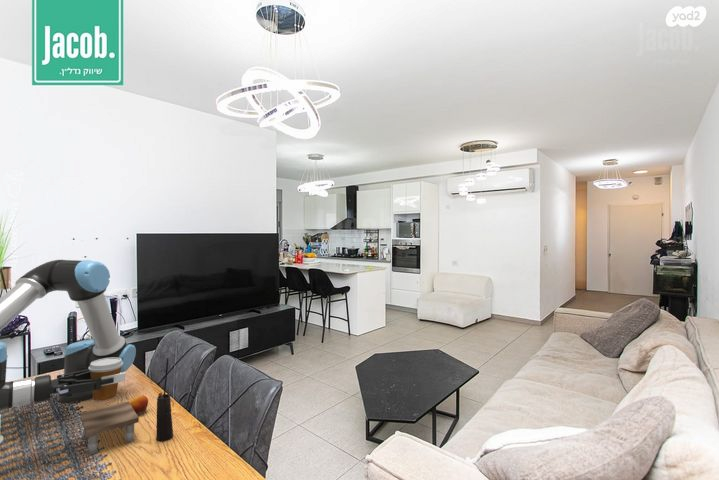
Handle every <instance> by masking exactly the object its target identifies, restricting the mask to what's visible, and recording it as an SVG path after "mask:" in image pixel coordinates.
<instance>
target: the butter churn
mask: <svg viewBox="0 0 719 480" xmlns="http://www.w3.org/2000/svg"><path fill="white" fill-rule="evenodd" d="M168 367H169V358H167V359H166V365H165V376H164V377H165V378H164V379H165V380H164V385H163V386H164V387H163V390H164V391H163V393H162V392H159V393H158V396H157V397H156V398H157V399H156V400H157V401H156V424H155V425H156V428H155V429H156V430H155V432H156V434H155V435H156V436H155V440H156V441H157V442H159V443H164V442H167V441H169V440H171V439H172V438H173V437H174V429H173V428H174V427H173V420H172V419H173V418H172V417H173V416H172V404H171V402H172V401H171V394H170V393H166V391H167V380H168Z"/></svg>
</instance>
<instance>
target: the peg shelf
mask: <svg viewBox="0 0 719 480" xmlns="http://www.w3.org/2000/svg"><path fill="white" fill-rule="evenodd" d="M79 416H80V421H81V425H82V427H83V430H82V438H83V439H84V440H85V439H88V441H87V455H89V456H91V455H94V454H96V453H98V446H99V444H98V441H99V434H102V433H105V432H109V431H113V430H116V429H124V428H125V438H124V440H125V441H124V442H125V443H126V444H129V443H132V442H133V441H135V440H134V438H135V424H137V423H138V424H139V418H140V417H139V415H138V416H137V414H136V413H135V411H134V409H133V408H132V406H131V405H130V403H129V402H128V400H127V401H124V402H121V403H116V404H112V405H108V406H104V407H99V408H95V409H92V410H87V411H83V412H80V413H79Z"/></svg>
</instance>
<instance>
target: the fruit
mask: <svg viewBox="0 0 719 480" xmlns="http://www.w3.org/2000/svg"><path fill="white" fill-rule="evenodd" d="M127 401H128V402H129V403H130V405H131V406H132V408H133V409H134V411H135V413H136V414H137V416H138V417H139V415H141V414H142V413H147V411H146V410H147V409H148V404H149V398H148V397H147V396H146V395H144V394H138V395H136V396H134V397H133V396H132V397H131V398H130V399H128V400H127Z"/></svg>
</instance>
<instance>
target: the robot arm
mask: <svg viewBox="0 0 719 480" xmlns="http://www.w3.org/2000/svg"><path fill="white" fill-rule="evenodd" d="M110 278H111V275H110V270H109V269H108V267H107V266H106V264H104V263H103V262H100V261H94V260H90V259H87V260H86V259H85V260H78V259H77V260H76V259H74V260H73V259H55V260H50V261H47V262H44V263H42V264H40V265H38V266H36V267H33V268H32V269H31V270H29V271H28V272H26V273H24V274H23V275H22V276H21V277H19V278H18V279H17V280H16V281H15V283H14V284H15V285H14V286H13V287H12V288H10V290H8V291H7V292H6V293H5V294H3V295H2V296H0V332H2V330H3V329H4V328H6V327H7V326H8V325H9V324H10V323H11V322H12V321H13V320H15V319H16V318H17V317H18V316H19V315H20V314H22V313H23V312H24V311H25V310H26V309H27V308H28V307H29V306H30V305H32V304H33V303H34V301H36V300H37V299H42V298H44V297H45V296H47V294H49V293H52V292H55V291H59V292H66V293H67V295H68V297H69V299H70V300H71V301H73V302H76V303H77V305H78V307H79V309H80V312H81V314H82V317H83V320H84V322H85V324H86V327H87V329H88V332H89V334H90V336H91V338H90V339H84V340H79V341H76V342H73V343H70V344H68V345H67V346H66V347H65V351H64V355H63V357H64V362H63V363H64V364H63V365H64V366H63V374H58V375H56V378H54V379H52V376H51V375H50V374H46V375H45V374H44V375H40V376H36V377H34V379H33V378H32V377H28V378H21V379H17V380H12V381H6V379H7V364H8V363H7V362H8V356H9V355H8V352H7V351H8V350H7V348H8V347H7V344H6V343H5V342H4V341H0V411H2V410H6V409H12V408H17V409H20V408H21V407H22V406H26V405H30V404H32V402H33V403H42V402H47V401H49V400H50V399H51V395H52V394H57V400H56V401H58V402H60V403H63V404H64V403H65V404H66V403H67V404H68V403H69V404H70V403H78V402H83V401H87V400H88V401H89V400H91V399H93V393H92V390H100V389H101V386H104V385H109V384H114V383H118V384H119V383H122V382H125V381H126V371H128V370H129V369H130V368H131V367H132V365H133V363H134V361H135V358H136V354H137V349H136V346H135V345H134V344H131V343H130V344H128V343H127V341H126V338H125V337H124V336H122V335H119V332H118V329H117V327H116V323H115V321H114V319H113V315H112V312H111V309H110V307H109V304H108V302H107V299H106V296H105V294H104V293H105V292H106V291H107V288H108V286H109V284H110ZM111 357H116V358H121V359H122V362H123V365H122V366H121V371H120V374H114V375H109V376H104V377H101V379H100V378H99V379H91V375H90V371H89V366H90V364H91V362H93V361H95V360H98V359H103V358H111Z"/></svg>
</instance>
